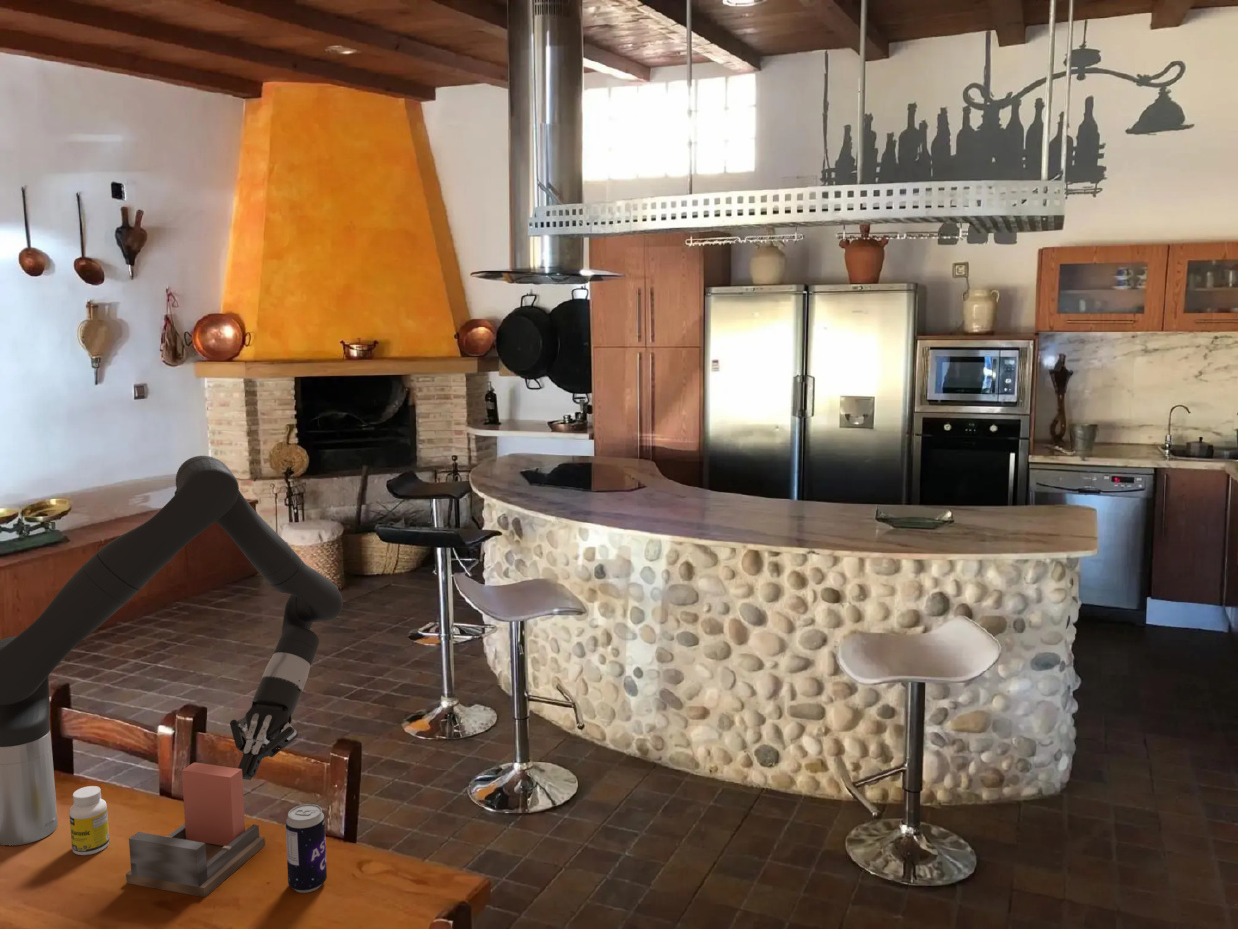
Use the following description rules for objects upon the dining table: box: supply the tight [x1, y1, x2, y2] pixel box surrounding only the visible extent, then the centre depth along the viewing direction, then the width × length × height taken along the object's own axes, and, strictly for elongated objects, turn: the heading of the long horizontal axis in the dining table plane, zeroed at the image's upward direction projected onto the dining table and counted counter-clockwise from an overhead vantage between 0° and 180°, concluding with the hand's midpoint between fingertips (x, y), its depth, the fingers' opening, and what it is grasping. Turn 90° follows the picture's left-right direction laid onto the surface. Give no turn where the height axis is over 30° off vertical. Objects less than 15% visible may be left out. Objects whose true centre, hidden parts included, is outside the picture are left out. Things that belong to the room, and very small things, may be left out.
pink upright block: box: [181, 762, 246, 846], centre depth 158 cm, size 9×3×12 cm, turn 75°
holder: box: [125, 823, 266, 898], centre depth 154 cm, size 14×15×8 cm
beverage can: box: [285, 803, 328, 894], centre depth 149 cm, size 6×6×12 cm
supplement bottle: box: [68, 785, 110, 856], centre depth 159 cm, size 5×5×10 cm
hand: (244, 778), depth 166 cm, fingers closed
